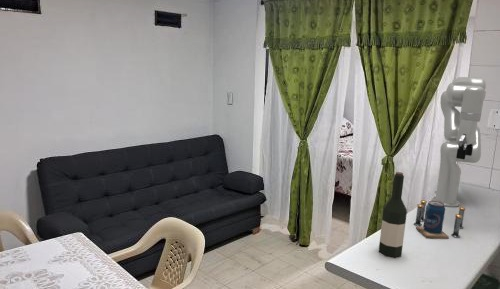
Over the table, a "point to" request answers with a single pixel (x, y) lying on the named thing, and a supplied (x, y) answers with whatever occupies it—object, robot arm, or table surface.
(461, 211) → the post
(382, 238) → the wine bottle
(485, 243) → the table surface
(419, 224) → the post
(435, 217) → the soda can
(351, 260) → the table surface
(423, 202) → the post
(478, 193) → the table surface
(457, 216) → the post
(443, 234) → the walnut coaster
